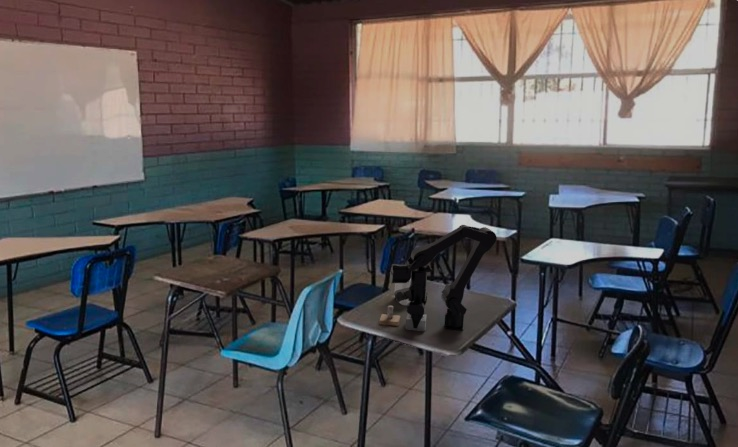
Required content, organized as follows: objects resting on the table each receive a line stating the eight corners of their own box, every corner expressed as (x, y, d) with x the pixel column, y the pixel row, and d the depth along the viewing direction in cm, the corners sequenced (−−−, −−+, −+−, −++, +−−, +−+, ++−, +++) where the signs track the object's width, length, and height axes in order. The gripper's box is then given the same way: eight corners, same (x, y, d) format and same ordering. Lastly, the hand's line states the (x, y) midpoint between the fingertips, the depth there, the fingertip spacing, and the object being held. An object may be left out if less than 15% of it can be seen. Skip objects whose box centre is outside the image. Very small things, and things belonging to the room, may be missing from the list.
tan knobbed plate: (400, 319, 237) (400, 304, 235) (398, 325, 230) (398, 310, 229) (381, 317, 238) (382, 302, 236) (379, 324, 231) (380, 308, 230)
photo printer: (411, 305, 254) (412, 275, 251) (401, 305, 252) (402, 276, 250) (402, 297, 263) (404, 269, 261) (392, 297, 262) (394, 269, 259)
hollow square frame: (426, 324, 232) (426, 314, 231) (424, 331, 225) (425, 320, 225) (407, 322, 233) (407, 312, 232) (405, 329, 226) (406, 319, 226)
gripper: (399, 274, 236) (397, 313, 239) (393, 288, 218) (391, 330, 221) (428, 276, 235) (426, 316, 238) (425, 291, 217) (422, 333, 220)
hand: (416, 323), depth 229 cm, fingers open, 9 cm apart
